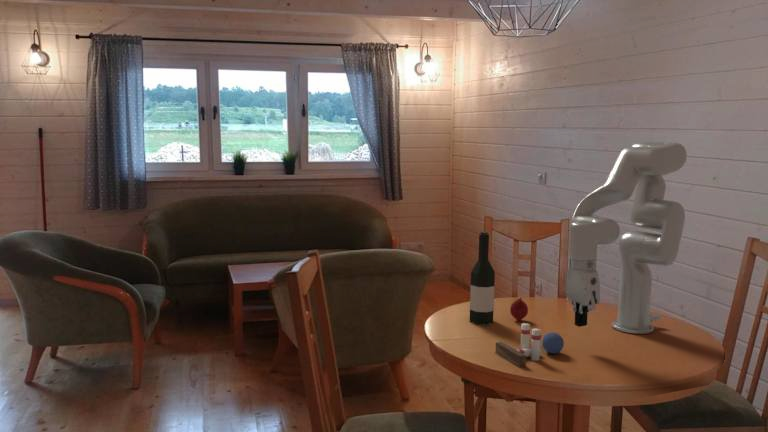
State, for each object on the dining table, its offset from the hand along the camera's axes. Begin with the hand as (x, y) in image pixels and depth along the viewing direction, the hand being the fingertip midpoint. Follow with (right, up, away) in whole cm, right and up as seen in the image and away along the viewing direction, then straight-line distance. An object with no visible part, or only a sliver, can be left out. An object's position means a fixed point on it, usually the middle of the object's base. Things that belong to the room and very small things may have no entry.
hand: (580, 325), depth 189 cm
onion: (-12, -3, +28) cm, 31 cm away
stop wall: (-22, -8, -8) cm, 25 cm away
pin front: (-13, -6, -5) cm, 16 cm away
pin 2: (-15, -8, -8) cm, 19 cm away
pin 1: (-17, -7, -4) cm, 19 cm away
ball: (-9, -4, -4) cm, 11 cm away
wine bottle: (-25, -3, +27) cm, 37 cm away
